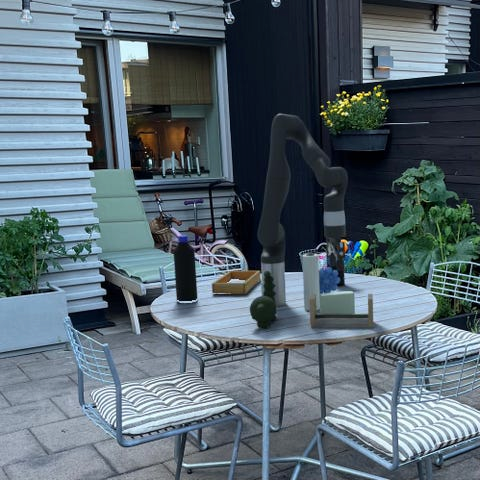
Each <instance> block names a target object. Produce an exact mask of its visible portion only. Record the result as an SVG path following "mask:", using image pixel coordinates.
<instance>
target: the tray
mask: <svg viewBox="0 0 480 480" xmlns="http://www.w3.org/2000/svg"><path fill="white" fill-rule="evenodd" d="M231 279H239V280H245V282H243V283H227V282H229V281H230V280H231ZM259 280H260V281H261V280H262V276H261V270H229V271H228V272H227V273H225V274H224V275H223V276H220V277H219V278H218V279H216V280H215V281H213V282H212V283H211V289H212V294H213V293H231V294H230V295H246V293H247V292H248V291H249V290H250V289H251V288H252V287H253V286H254V285H255V284H256V283H257V282H258V281H259ZM258 283H259V282H258ZM258 283H257V284H258ZM257 284H256V285H257ZM256 285H255V286H256ZM255 286H254V287H255ZM254 287H253V288H254ZM253 288H252V289H253ZM252 289H251V290H252ZM251 290H250V291H251ZM250 291H249V292H250ZM249 292H248V293H249Z"/></svg>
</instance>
